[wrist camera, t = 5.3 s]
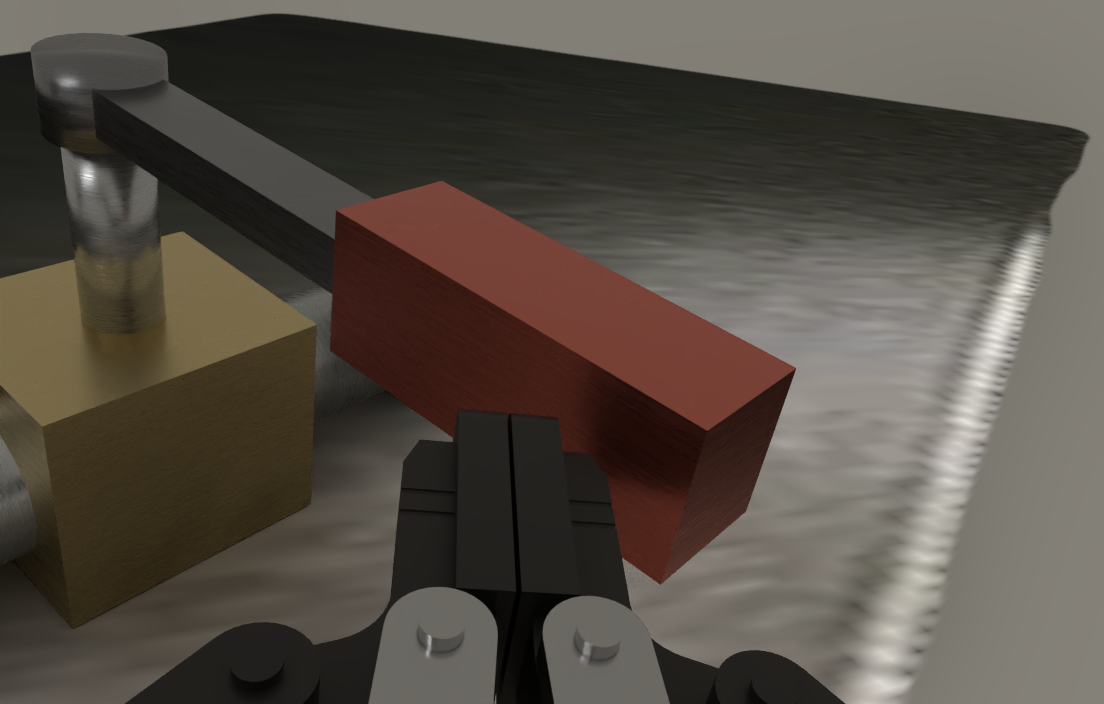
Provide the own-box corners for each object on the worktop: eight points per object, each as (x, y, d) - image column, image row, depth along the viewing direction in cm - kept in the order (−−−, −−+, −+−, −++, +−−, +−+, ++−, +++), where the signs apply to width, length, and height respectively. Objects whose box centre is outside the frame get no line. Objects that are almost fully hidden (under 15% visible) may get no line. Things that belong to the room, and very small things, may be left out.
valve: (-267, 806, 21) (-497, 343, 15) (-360, 620, 25) (-580, 177, 18) (471, 419, 38) (514, 114, 31) (354, 338, 41) (370, 49, 35)
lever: (20, 139, 25) (4, 18, 23) (133, 120, 27) (124, 9, 25) (652, 591, 15) (700, 436, 13) (751, 506, 17) (802, 364, 15)
